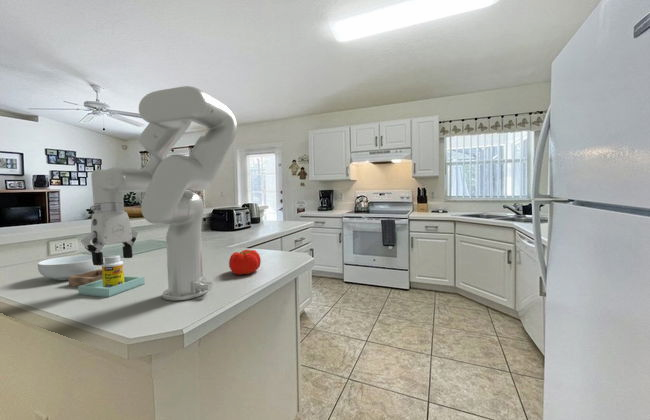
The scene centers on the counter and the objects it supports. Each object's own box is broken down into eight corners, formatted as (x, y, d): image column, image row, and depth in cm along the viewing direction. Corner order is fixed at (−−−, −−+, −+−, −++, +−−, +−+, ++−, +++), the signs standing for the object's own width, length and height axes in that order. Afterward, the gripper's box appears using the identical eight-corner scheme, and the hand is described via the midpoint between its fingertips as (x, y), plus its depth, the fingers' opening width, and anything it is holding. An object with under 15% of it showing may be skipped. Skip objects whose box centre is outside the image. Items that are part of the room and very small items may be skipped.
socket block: (120, 278, 99) (120, 270, 99) (91, 287, 89) (91, 278, 89) (99, 277, 101) (98, 269, 101) (68, 285, 91) (68, 277, 91)
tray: (144, 284, 92) (144, 277, 92) (109, 297, 80) (108, 288, 80) (116, 282, 94) (116, 275, 94) (78, 294, 83) (78, 286, 83)
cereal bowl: (70, 284, 93) (69, 264, 93) (24, 284, 93) (22, 264, 93) (110, 270, 110) (110, 253, 110) (71, 271, 110) (70, 254, 110)
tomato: (243, 267, 113) (243, 247, 112) (267, 270, 107) (266, 249, 107) (219, 275, 101) (219, 253, 101) (244, 279, 96) (244, 255, 95)
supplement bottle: (102, 291, 83) (100, 259, 83) (104, 286, 88) (102, 256, 87) (124, 287, 87) (122, 256, 86) (125, 283, 91) (123, 253, 91)
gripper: (89, 209, 77) (94, 268, 77) (142, 207, 93) (146, 255, 94) (69, 210, 78) (74, 268, 79) (125, 208, 95) (129, 255, 96)
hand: (114, 261), depth 87 cm, fingers open, 9 cm apart
